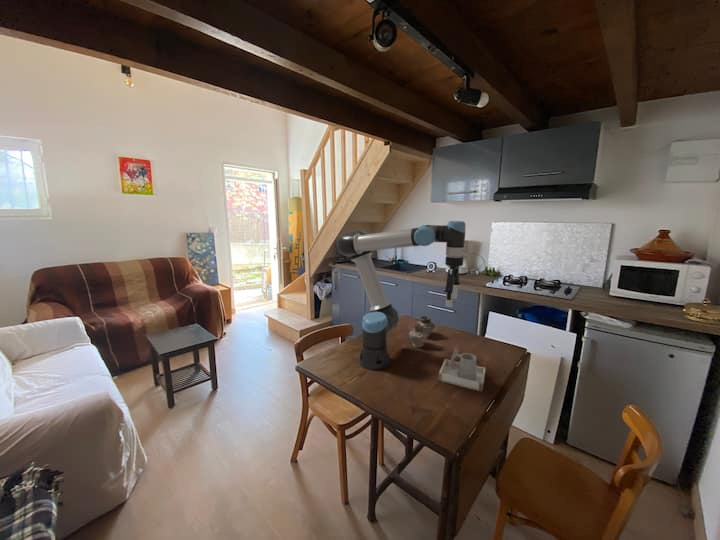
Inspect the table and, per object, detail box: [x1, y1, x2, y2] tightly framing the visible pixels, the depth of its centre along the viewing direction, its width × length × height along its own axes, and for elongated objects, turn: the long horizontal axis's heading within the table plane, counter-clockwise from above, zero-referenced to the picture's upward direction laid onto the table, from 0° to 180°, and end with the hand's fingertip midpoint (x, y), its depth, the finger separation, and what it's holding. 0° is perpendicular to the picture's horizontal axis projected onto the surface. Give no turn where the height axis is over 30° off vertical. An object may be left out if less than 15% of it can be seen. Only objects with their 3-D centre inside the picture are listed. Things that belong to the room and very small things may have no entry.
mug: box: [449, 347, 478, 381], centre depth 127 cm, size 8×12×12 cm, turn 47°
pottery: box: [408, 315, 436, 348], centre depth 165 cm, size 11×25×12 cm, turn 154°
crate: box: [437, 358, 486, 393], centre depth 128 cm, size 18×14×4 cm
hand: (451, 302), depth 134 cm, fingers open, 13 cm apart
